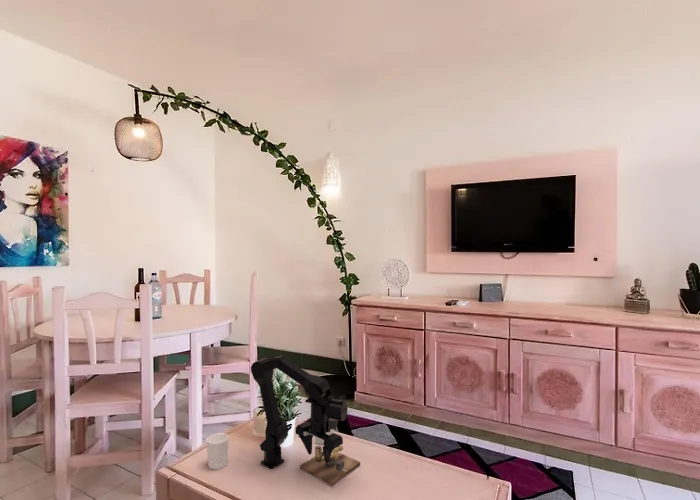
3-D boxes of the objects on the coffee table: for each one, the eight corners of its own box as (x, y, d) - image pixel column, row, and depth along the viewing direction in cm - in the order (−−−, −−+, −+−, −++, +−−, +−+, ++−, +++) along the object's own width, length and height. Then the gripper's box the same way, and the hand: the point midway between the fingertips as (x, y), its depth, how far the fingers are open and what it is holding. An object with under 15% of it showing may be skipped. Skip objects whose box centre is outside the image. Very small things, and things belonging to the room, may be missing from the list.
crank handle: (311, 462, 137) (311, 447, 137) (337, 447, 148) (337, 432, 148) (320, 467, 134) (320, 451, 134) (345, 451, 145) (345, 436, 145)
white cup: (211, 473, 137) (211, 445, 137) (203, 463, 143) (203, 437, 143) (232, 465, 142) (232, 438, 142) (223, 456, 148) (223, 431, 148)
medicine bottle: (334, 436, 164) (334, 409, 164) (331, 445, 157) (331, 416, 157) (318, 435, 165) (318, 408, 165) (314, 444, 158) (315, 415, 158)
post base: (300, 468, 140) (300, 458, 140) (328, 450, 153) (329, 441, 153) (332, 485, 130) (332, 474, 130) (360, 465, 143) (360, 455, 143)
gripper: (352, 415, 137) (352, 457, 137) (315, 401, 148) (315, 441, 149) (332, 426, 128) (331, 471, 128) (294, 410, 140) (294, 452, 140)
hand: (318, 458), depth 136 cm, fingers open, 8 cm apart
